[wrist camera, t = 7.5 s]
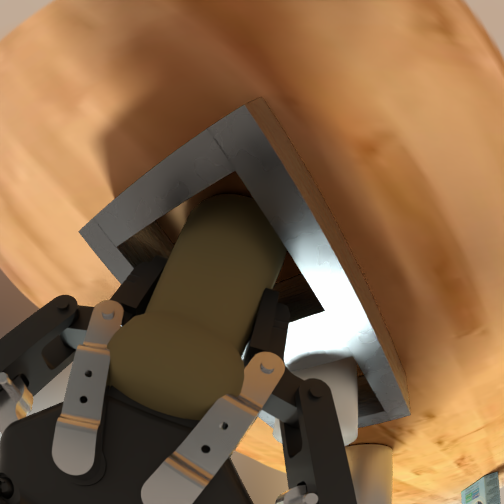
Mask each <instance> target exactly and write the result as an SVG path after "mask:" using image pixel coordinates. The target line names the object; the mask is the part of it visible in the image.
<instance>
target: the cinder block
mask: <svg viewBox="0 0 504 504" xmlns="http://www.w3.org/2000/svg"><path fill="white" fill-rule="evenodd" d="M234 171H236V172H237V174H238V175H239V177H240V178H241V180H242V181H243V183H244V184H245V186H246V187H247V189H248V190H249V192H250V193H251V195H252V196H253V198H254V199H255V201H256V202H257V204H258V206H259V207H260V209H261V210H262V212H263V213H264V215H265V216H266V218H267V219H268V221H269V222H270V224H271V225H272V227H273V228H274V230H275V232H276V233H277V235H278V236H279V238H280V239H281V241H282V242H283V244H284V246H285V247H286V249H287V250H288V252H289V253H290V255H291V256H292V258H293V260H294V261H295V263H296V264H297V266H298V267H299V269H300V271H301V272H302V274H301V275H298V276H296V277H293V278H290V279H288V280H285V281H283V282H280V283H277V284H275V285H274V286H273V288H272V289H273V290H276V291H279V297H278V303H281V304H285V305H287V306H288V309H289V312H290V321H289V327H288V334H287V341H286V347H285V354H284V362H285V365H286V367H287V368H288V370H289V371H290V372H293V371H298V370H302V369H306V368H310V367H314V366H318V365H322V364H326V363H330V362H333V361H337V360H341V359H344V358H348V357H351V356H353V357H354V359H355V360H356V362H357V364H358V365H359V367H360V369H361V370H362V372H363V374H364V376H361V377H358V378H357V383H358V428H360V427H365V426H370V425H374V424H378V423H383V422H387V421H391V420H394V419H398V418H402V417H405V416H409V415H411V412H410V403H409V395H408V387H407V380H406V375H405V372H404V370H403V367H402V364H401V362H400V359H399V357H398V354H397V352H396V349H395V347H394V344H393V342H392V340H391V337H390V335H389V332H388V330H387V328H386V325H385V323H384V321H383V318H382V316H381V314H380V311H379V309H378V307H377V305H376V302H375V300H374V298H373V296H372V294H371V291H370V289H369V287H368V285H367V283H366V281H365V279H364V276H363V274H362V272H361V270H360V268H359V266H358V264H357V262H356V260H355V258H354V256H353V254H352V252H351V250H350V248H349V246H348V244H347V242H346V240H345V238H344V236H343V234H342V232H341V230H340V228H339V226H338V224H337V222H336V221H335V219H334V217H333V215H332V213H331V211H330V209H329V208H328V206H327V204H326V202H325V200H324V198H323V197H322V195H321V193H320V191H319V189H318V188H317V186H316V184H315V182H314V180H313V179H312V177H311V175H310V174H309V172H308V170H307V168H306V167H305V165H304V163H303V161H302V160H301V158H300V156H299V155H298V153H297V151H296V150H295V148H294V146H293V145H292V143H291V142H290V140H289V138H288V137H287V135H286V133H285V132H284V130H283V129H282V127H281V125H280V124H279V122H278V121H277V119H276V118H275V116H274V114H273V113H272V111H271V110H270V108H269V107H268V105H267V104H266V102H265V101H264V99H263V98H262V97H261V98H258V99H256V100H254V101H251V102H249V103H247V104H244V105H243V106H241V107H240V108H238V109H236V110H235V111H233V112H232V113H230V114H228V115H227V116H225V117H224V118H222V119H221V120H219V121H218V122H216V123H215V124H213V125H212V126H210V127H209V128H207V129H206V130H204V131H203V132H201V133H200V134H198V135H197V136H196V137H194V138H193V139H191V140H190V141H188V142H187V143H186V144H184V145H183V146H181V147H180V148H179V149H177V150H176V151H175V152H173V153H172V154H171V155H169V156H168V157H166V158H165V159H164V160H163V161H161V162H160V163H159V164H157V165H156V166H155V167H153V168H152V169H151V170H150V171H148V172H147V173H146V174H144V175H143V176H142V177H141V178H139V179H138V180H137V181H136V182H134V183H133V184H132V185H131V186H130V187H128V188H127V189H126V190H125V191H124V192H122V193H121V194H120V195H119V196H118V197H116V198H115V199H114V200H113V201H112V202H111V203H109V204H108V205H107V206H106V207H105V208H104V209H103V210H101V211H100V212H99V213H98V214H97V215H96V216H95V217H94V218H93V219H91V220H90V221H89V222H88V223H87V224H86V225H85V226H84V227H83V228H82V229H81V230H80V231H79V233H80V234H81V236H82V237H83V238H84V239H85V241H86V242H87V243H88V245H89V246H90V247H91V248H92V250H93V251H94V252H95V253H96V255H97V256H98V257H99V258H100V259H101V261H102V262H103V263H104V264H105V266H106V267H107V268H108V269H109V270H110V272H111V273H112V274H113V275H114V276H115V277H116V279H117V280H118V281H119V282H120V283H121V284H122V283H123V282H124V281H125V280H126V278H127V277H128V275H130V273H131V272H132V270H133V269H134V268H135V267H136V266H137V265H139V264H141V263H142V262H144V261H145V262H148V263H150V262H151V261H152V259H153V258H154V257H155V256H156V255H160V256H164V257H167V258H169V257H170V254H171V252H172V250H173V248H174V244H173V243H172V242H171V240H170V239H169V238H168V237H167V235H166V234H165V233H164V231H163V230H162V229H161V228H160V226H159V225H158V224H157V222H156V221H155V220H157V219H158V218H160V217H161V216H163V215H164V214H166V213H167V212H169V211H170V210H172V209H173V208H175V207H177V206H178V205H180V204H181V203H183V202H184V201H186V200H188V199H189V198H191V197H192V196H194V195H196V194H197V193H199V192H200V191H202V190H204V189H205V188H207V187H209V186H210V185H212V184H214V183H215V182H217V181H219V180H220V179H222V178H224V177H225V176H227V175H229V174H230V173H232V172H234ZM246 348H247V346H246ZM246 348H245V350H244V352H243V355H242V357H241V358H242V360H243V359H244V355H245V352H246ZM258 417H259V418H261V419H262V420H263V421H264V422H266V423H267V424H268V425H269V426H271V427H272V428H273V429H274V423H275V417H274V416H272V415H270V414H268V413H267V412H265V411H263V410H262V411H261V412H260V414H259V415H258Z"/></svg>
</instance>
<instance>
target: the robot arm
mask: <svg viewBox="0 0 504 504" xmlns="http://www.w3.org/2000/svg"><path fill="white" fill-rule="evenodd" d="M168 259H169V258H167V257H164V256H160V255H156V256H155V257H154V258H153V259H152V261H151V262H150V263H148V262H145V261H144V262H142V263H141V264H139V265H137V266H136V267H135V268H134V269H133V270H132V272H131V273H130V275H128V277H127V278H126V280H125V281H124V282H123V283H122V284H121V286H120V287H119V288H118V290H117V291H116V292H115V294H114V295H113V296H112V298H111V299H110V300H105V301H102V302H100V303H98V304H97V305H96V306H95V307H88V306H79V305H78V304H77V301H76V299H75V298H74V297H72V296H69V295H61V296H58V297H56V298H54V299H53V300H52V301H50V302H49V303H47V304H46V305H45V306H43V307H42V308H41V309H39V310H38V311H37V312H35V313H34V314H33V315H31V316H30V317H29V318H27V319H26V320H25V321H23V322H22V323H21V324H19V325H18V326H17V327H15V328H14V329H13V330H11V331H10V332H9V333H8V334H6V335H5V336H4V337H3V338H1V339H0V432H1V433H2V437H1V441H0V504H253V502H252V500H251V498H250V496H249V494H248V493H247V490H246V488H245V486H244V484H243V483H242V480H241V479H240V477H239V475H238V473H237V471H236V468H235V466H234V464H233V462H232V460H231V458H230V457H231V455H232V454H233V452H234V451H235V450H236V448H237V447H238V445H239V444H240V442H241V441H242V439H243V438H244V436H245V435H246V433H247V432H248V430H249V429H250V427H251V426H252V424H253V423H254V421H255V420H256V418H257V417H258V415H259V414H260V412H261V411H262V410H263V411H265V412H267V413H268V414H270V415H272V416H274V417H275V418H277V419H279V423H280V430H281V437H282V444H283V451H284V458H285V465H286V472H287V480H288V487H289V490H288V491H285V492H284V493H282V494H280V495H279V496H278V498H277V500H276V502H275V504H392V476H393V461H392V449H391V448H390V447H388V446H385V445H379V444H363V445H353V446H348V447H345V445H344V441H343V437H342V433H341V428H340V424H339V420H338V416H337V412H336V408H335V404H334V400H333V396H332V392H331V389H330V387H329V386H328V385H327V384H326V383H325V382H324V381H322V380H320V379H316V378H309V379H306V380H303V379H301V378H299V377H297V376H295V375H294V374H292V373H291V372H290V371H289V370H288V368H287V367H286V365H285V362H284V354H285V347H286V341H287V334H288V327H289V321H290V312H289V309H288V306H287V305H285V304H281V303H278V297H279V291H276V290H273V289H269V288H265V289H264V292H263V295H262V299H261V303H260V306H259V310H258V313H257V317H256V321H255V324H254V327H253V331H252V334H251V337H250V339H249V342H248V344H247V348H246V352H245V355H244V359H243V362H244V366H245V369H244V382H243V386H242V390H241V393H240V394H239V395H238V396H235V395H234V394H226V395H225V396H223V397H221V398H219V399H218V400H217V401H216V402H215V403H214V405H213V406H212V407H211V408H210V410H209V411H208V412H207V413H206V414H205V416H204V417H203V418H202V419H201V421H200V420H192V419H184V418H179V417H175V416H171V415H167V414H164V413H161V412H158V411H155V410H153V409H150V408H148V407H146V406H144V405H142V404H140V403H138V402H136V401H134V400H132V399H131V398H129V397H127V396H126V395H124V394H123V393H122V392H120V391H119V390H118V389H116V388H115V387H114V386H112V385H111V387H110V389H109V386H110V381H111V379H110V349H107V344H108V342H109V341H110V339H111V338H112V337H113V335H114V334H115V332H117V331H118V330H119V329H120V328H121V327H122V326H124V325H125V324H126V323H127V322H128V321H130V320H131V319H132V318H133V317H134V316H137V315H141V314H144V313H145V311H146V309H147V306H148V304H149V302H150V299H151V297H152V295H153V292H154V290H155V288H156V285H157V283H158V281H159V279H160V276H161V274H162V272H163V270H164V267H165V265H166V263H167V261H168ZM71 362H73V364H72V368H71V372H70V376H69V380H68V385H67V389H66V393H65V398H64V402H62V403H59V404H57V405H54V406H52V407H49V408H47V409H44V410H42V411H39V412H37V413H34V414H32V415H29V416H27V417H26V414H27V413H29V412H31V409H32V404H33V396H34V395H36V394H37V393H38V392H39V391H40V390H41V389H42V388H43V387H44V386H45V385H46V384H48V383H49V382H50V381H51V380H52V379H53V378H54V377H55V376H57V375H58V374H59V373H60V372H61V371H62V370H63V369H65V368H66V367H67V366H68V365H69V364H70V363H71ZM221 428H223V430H222V429H221Z"/></svg>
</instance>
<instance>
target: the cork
mask: <svg viewBox="0 0 504 504" xmlns="http://www.w3.org/2000/svg"><path fill="white" fill-rule="evenodd" d="M286 253H287V249H286V247H285V246H284V244H283V242H282V241H281V239H280V238H279V236H278V235H277V233H276V232H275V230H274V228H273V227H272V225H271V224H270V222H269V221H268V219H267V218H266V216H265V215H264V213H263V212H262V210H261V209H260V207H259V206H258V204H257V202H256V201H255V200H254V199H252V198H249V197H245V196H241V195H236V194H224V195H215V196H213V197H211V198H208V199H206V200H204V201H201V202H200V203H199V204H198V205H197V206H196V207H195V208H194V209H193V210H192V211H191V213H190V215H189V217H188V219H187V221H186V223H185V225H184V227H183V229H182V231H181V233H180V235H179V237H178V239H177V242H176V244H175V246H174V248H173V250H172V252H171V254H170V257H169V259H168V261H167V263H166V265H165V267H164V270H163V272H162V274H161V276H160V279H159V281H158V283H157V285H156V288H155V290H154V292H153V295H152V297H151V299H150V302H149V304H148V306H147V309H146V311H145V313H144V314H141V315H137V316H134V317H133V318H132V319H131V320H130V321H128V322H127V323H126V324H125V325H124V326H122V327H121V328H120V329H119V330H118V331H117V332H115V334H114V335H113V337H112V338H111V339H110V341H109V342H108V344H107V349H110V379H111V381H110V386H109V389H110V387H111V385H112V386H114V387H115V388H116V389H118V390H119V391H120V392H122V393H123V394H124V395H126V396H127V397H129V398H131V399H132V400H134V401H136V402H138V403H140V404H142V405H144V406H146V407H148V408H150V409H153V410H155V411H158V412H161V413H164V414H167V415H171V416H175V417H179V418H184V419H192V420H200V421H201V419H202V418H203V417H204V416H205V414H206V413H207V412H208V411H209V410H210V408H211V407H212V406H213V405H214V403H215V402H216V401H217V400H218V399H219V398H221V397H223V396H225V395H226V394H234V395H235V396H238V395H239V394H240V393H241V390H242V386H243V382H244V369H245V366H244V362H243V360H242V358H241V357H242V355H243V352H244V350H245V348H246V346H247V344H248V342H249V339H250V337H251V334H252V331H253V327H254V324H255V321H256V317H257V313H258V310H259V306H260V303H261V299H262V295H263V292H264V289H265V288H269V289H272V288H273V286H274V284H275V282H276V279H277V277H278V275H279V272H280V270H281V268H282V265H283V263H284V260H285V256H286ZM221 429H222V430H223V428H221Z"/></svg>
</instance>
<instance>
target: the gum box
mask: <svg viewBox="0 0 504 504" xmlns="http://www.w3.org/2000/svg"><path fill="white" fill-rule="evenodd" d="M461 497H462V504H500V490H499V479H498V471H497V472H494V473H491V474H489V475H486V476H484V477H482V478H481V479H480V480H478V481H477V482H475V483H474V484H472V485H471V486H470V487H468V488H467V489H465V490H463V491H462V492H461Z"/></svg>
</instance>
